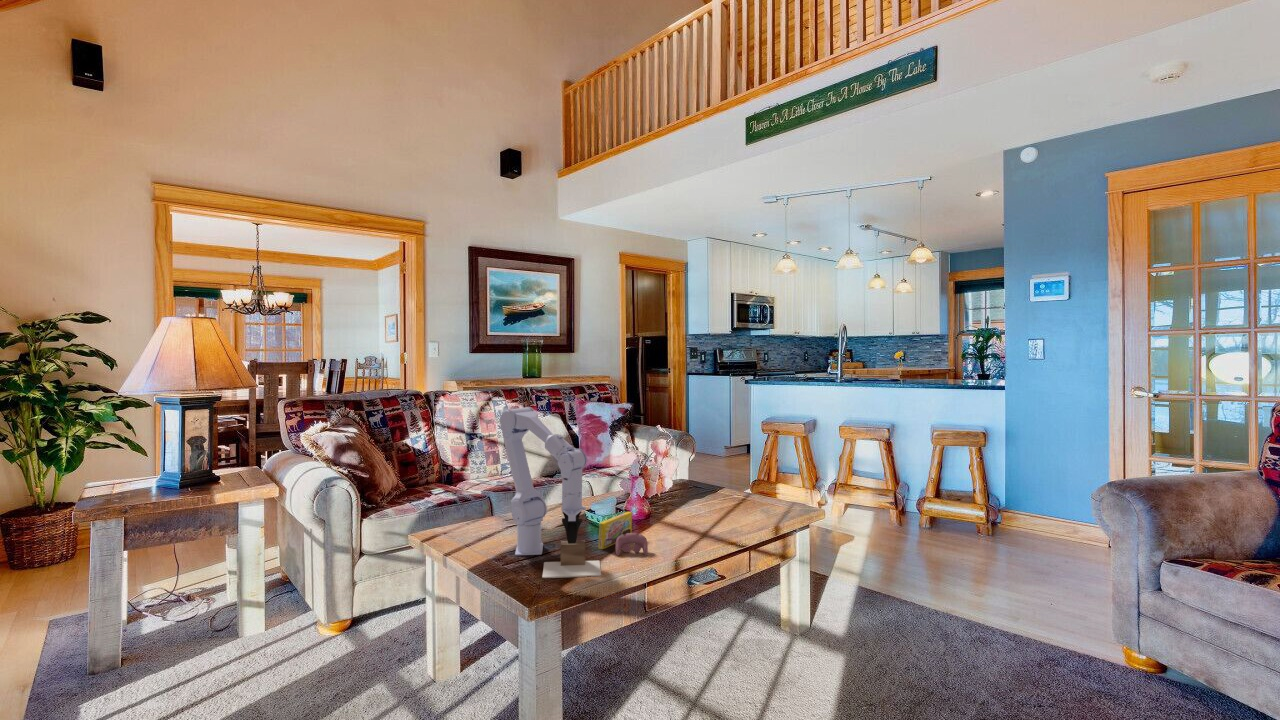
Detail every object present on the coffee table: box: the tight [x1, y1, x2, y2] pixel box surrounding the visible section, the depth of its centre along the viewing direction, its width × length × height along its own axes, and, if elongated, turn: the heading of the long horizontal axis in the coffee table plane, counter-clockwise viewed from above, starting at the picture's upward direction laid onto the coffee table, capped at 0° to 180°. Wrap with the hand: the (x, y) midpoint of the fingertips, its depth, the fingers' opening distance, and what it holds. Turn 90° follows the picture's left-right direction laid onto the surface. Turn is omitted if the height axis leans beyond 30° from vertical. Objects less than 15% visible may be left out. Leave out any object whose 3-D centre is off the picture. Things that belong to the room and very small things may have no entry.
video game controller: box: [614, 532, 649, 557], centre depth 187 cm, size 10×5×7 cm, turn 93°
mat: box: [541, 560, 602, 579], centre depth 173 cm, size 11×16×1 cm
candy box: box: [597, 511, 633, 550], centre depth 197 cm, size 16×2×8 cm, turn 147°
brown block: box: [560, 539, 586, 566], centre depth 177 cm, size 4×7×6 cm, turn 96°
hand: (571, 538), depth 177 cm, fingers open, 7 cm apart
